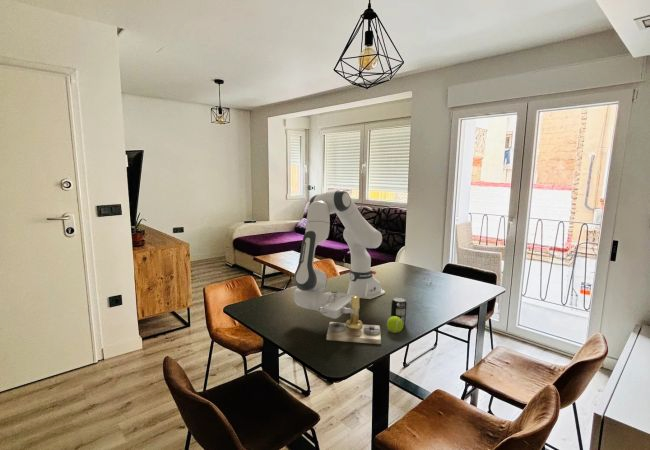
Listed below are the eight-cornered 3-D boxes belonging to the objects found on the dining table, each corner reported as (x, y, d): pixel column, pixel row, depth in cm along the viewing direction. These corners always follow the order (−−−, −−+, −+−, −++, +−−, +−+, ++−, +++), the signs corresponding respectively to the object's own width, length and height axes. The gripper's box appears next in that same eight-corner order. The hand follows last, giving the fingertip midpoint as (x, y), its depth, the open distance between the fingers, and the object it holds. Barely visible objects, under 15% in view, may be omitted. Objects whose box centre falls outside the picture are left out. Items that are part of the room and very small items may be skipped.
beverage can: (394, 320, 161) (396, 295, 160) (407, 324, 157) (409, 299, 155) (387, 324, 156) (389, 299, 154) (400, 328, 152) (402, 303, 150)
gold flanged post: (355, 321, 149) (356, 292, 148) (365, 327, 144) (367, 298, 142) (342, 324, 146) (343, 295, 144) (352, 331, 140) (354, 301, 138)
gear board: (379, 329, 150) (379, 321, 150) (380, 344, 138) (381, 335, 137) (329, 326, 153) (329, 318, 152) (326, 339, 140) (326, 331, 139)
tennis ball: (383, 331, 149) (384, 316, 148) (392, 327, 154) (393, 312, 153) (396, 337, 144) (397, 321, 143) (405, 332, 149) (406, 317, 148)
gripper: (316, 303, 140) (347, 310, 134) (337, 289, 158) (365, 295, 151) (315, 318, 141) (346, 325, 134) (337, 302, 159) (365, 308, 152)
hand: (356, 309), depth 143 cm, fingers closed on gold flanged post, 3 cm apart
